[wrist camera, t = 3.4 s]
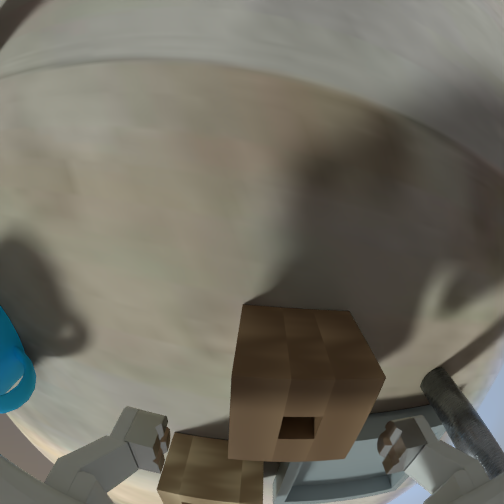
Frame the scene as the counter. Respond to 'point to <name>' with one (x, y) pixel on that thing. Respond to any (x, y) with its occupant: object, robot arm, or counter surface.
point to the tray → (348, 467)
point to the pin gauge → (462, 421)
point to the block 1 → (208, 474)
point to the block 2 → (299, 385)
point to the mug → (13, 368)
